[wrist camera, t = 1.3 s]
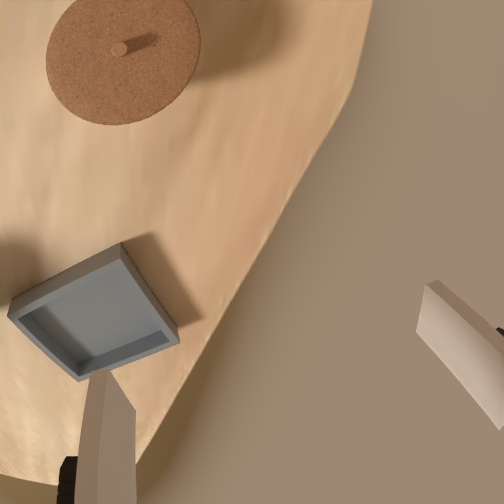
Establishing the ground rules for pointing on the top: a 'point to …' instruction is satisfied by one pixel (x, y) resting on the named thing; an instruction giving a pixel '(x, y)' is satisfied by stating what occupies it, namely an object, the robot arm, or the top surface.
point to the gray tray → (95, 315)
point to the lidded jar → (122, 57)
